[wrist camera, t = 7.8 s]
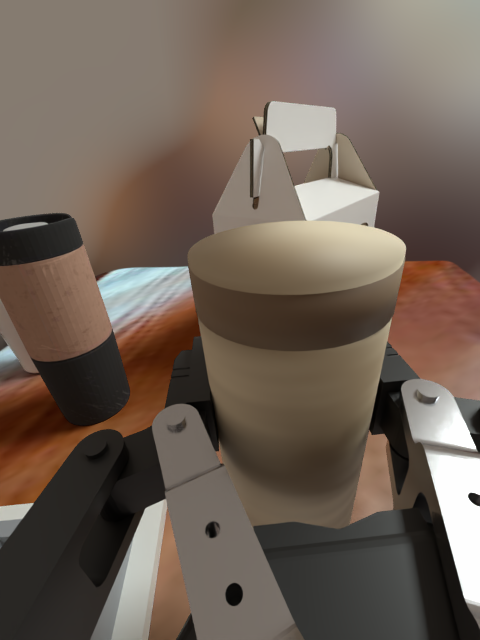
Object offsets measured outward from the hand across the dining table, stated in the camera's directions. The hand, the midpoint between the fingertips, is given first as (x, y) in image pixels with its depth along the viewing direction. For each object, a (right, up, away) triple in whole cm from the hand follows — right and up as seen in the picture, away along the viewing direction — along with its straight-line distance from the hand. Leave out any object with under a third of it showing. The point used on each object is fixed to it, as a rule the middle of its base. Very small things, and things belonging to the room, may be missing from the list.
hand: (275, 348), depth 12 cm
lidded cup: (+1, -7, +1) cm, 7 cm away
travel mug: (-18, -8, +22) cm, 30 cm away
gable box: (+8, +2, +37) cm, 37 cm away
